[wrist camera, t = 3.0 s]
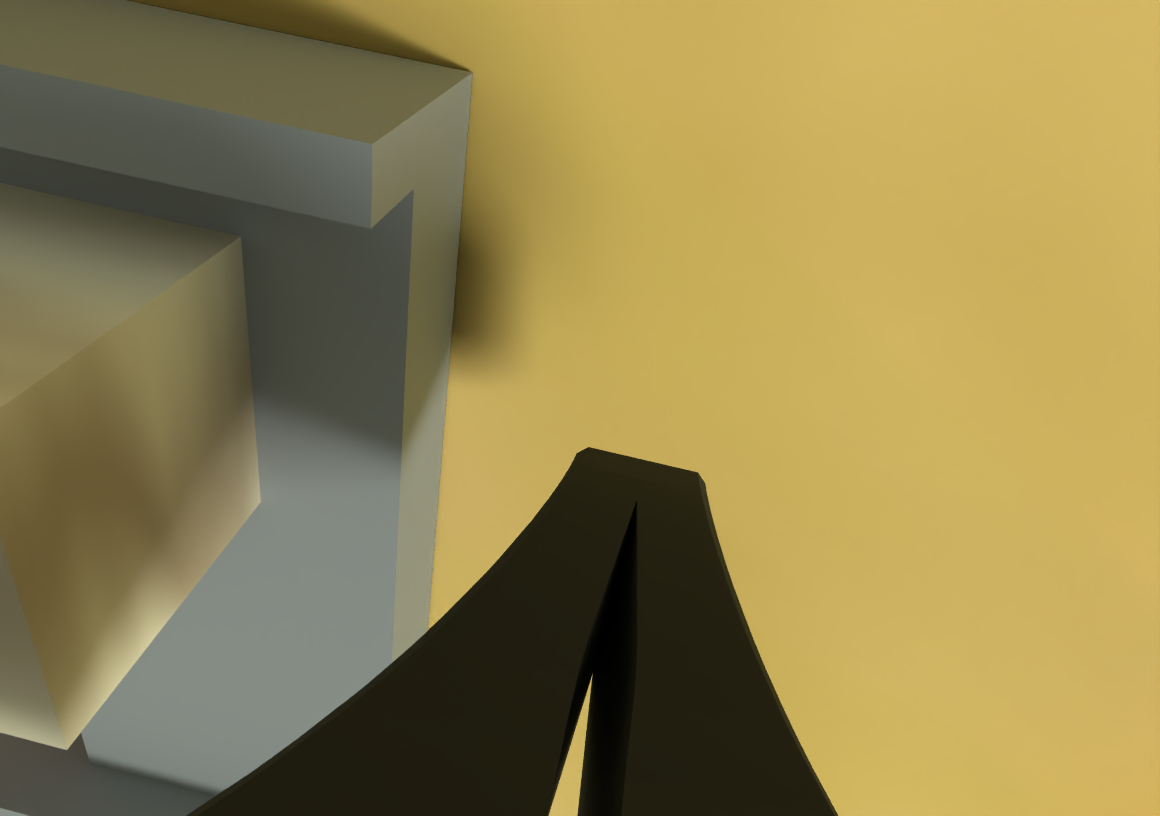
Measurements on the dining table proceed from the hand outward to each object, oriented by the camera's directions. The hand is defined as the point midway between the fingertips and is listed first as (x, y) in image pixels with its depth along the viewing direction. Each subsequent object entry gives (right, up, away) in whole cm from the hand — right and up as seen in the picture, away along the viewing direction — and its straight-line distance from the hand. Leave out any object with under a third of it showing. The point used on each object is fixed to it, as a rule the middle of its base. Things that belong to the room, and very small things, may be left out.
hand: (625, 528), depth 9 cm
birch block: (-7, +2, +1) cm, 7 cm away
